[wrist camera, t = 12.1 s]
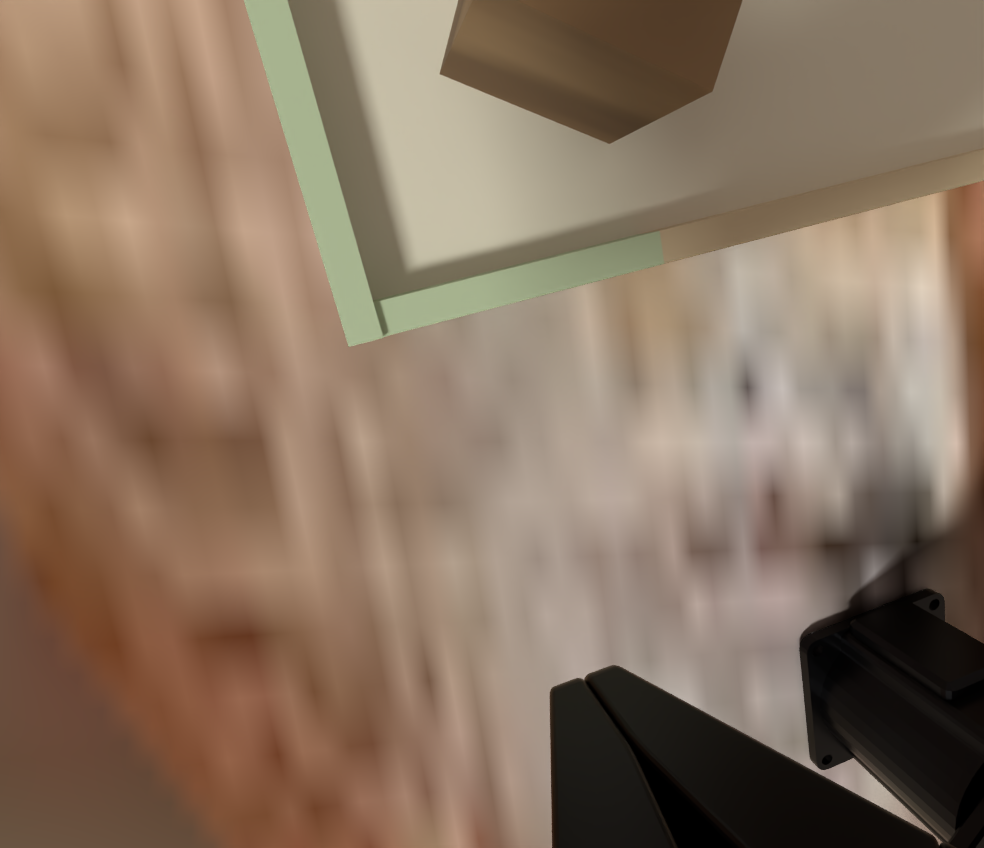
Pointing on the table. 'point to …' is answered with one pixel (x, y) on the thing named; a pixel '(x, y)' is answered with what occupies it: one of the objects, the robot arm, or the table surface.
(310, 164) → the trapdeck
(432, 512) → the table surface
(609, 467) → the table surface
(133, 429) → the table surface
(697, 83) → the block
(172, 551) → the table surface
